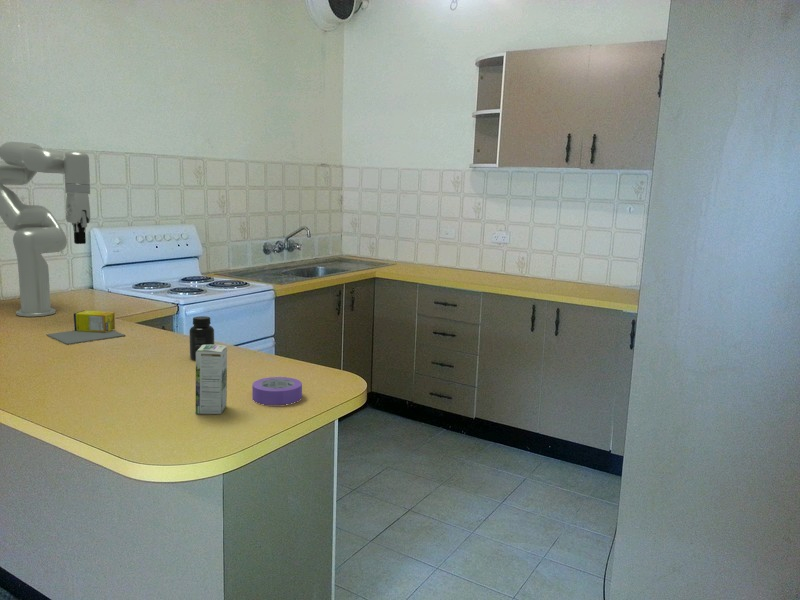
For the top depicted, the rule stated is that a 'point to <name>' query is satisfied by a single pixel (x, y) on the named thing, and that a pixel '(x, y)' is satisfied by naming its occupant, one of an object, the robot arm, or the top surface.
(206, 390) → the syrup box
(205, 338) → the supplement bottle
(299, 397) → the masking tape
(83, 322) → the supplement box
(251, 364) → the top surface
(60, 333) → the mat
